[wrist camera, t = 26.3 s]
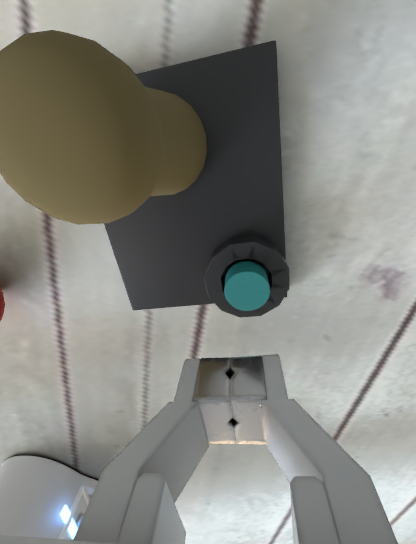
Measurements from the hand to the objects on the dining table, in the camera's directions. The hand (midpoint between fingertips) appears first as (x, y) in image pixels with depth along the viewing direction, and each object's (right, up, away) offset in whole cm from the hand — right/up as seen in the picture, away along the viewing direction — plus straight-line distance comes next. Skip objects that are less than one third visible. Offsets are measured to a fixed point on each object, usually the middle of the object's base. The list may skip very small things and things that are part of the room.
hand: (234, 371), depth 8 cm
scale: (-2, +8, +11) cm, 14 cm away
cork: (-4, +11, +8) cm, 15 cm away
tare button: (+2, +3, +10) cm, 11 cm away
